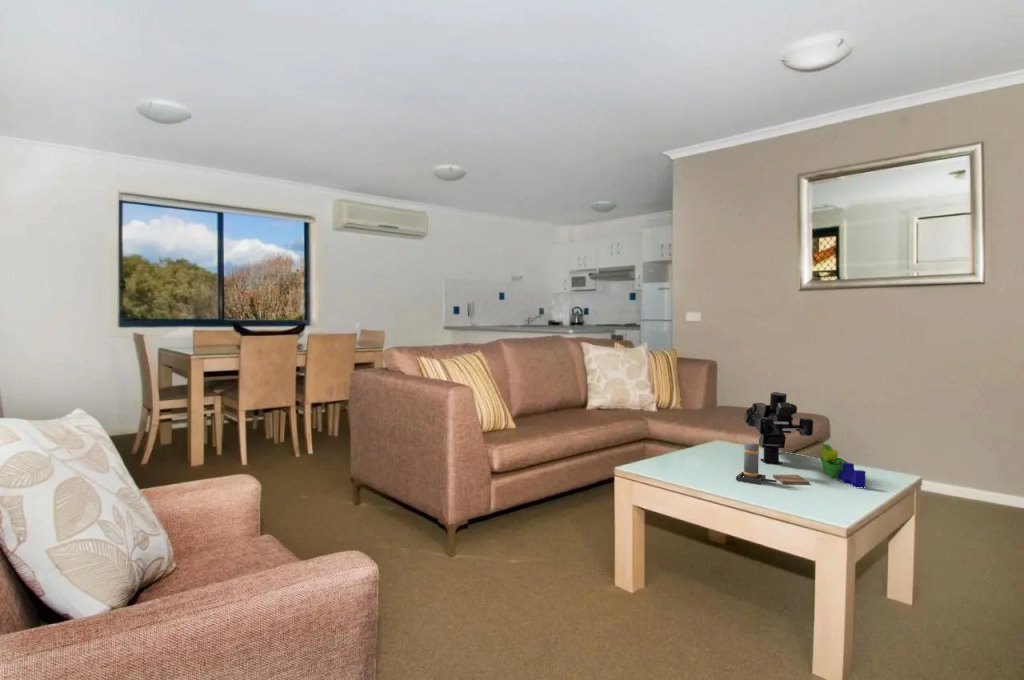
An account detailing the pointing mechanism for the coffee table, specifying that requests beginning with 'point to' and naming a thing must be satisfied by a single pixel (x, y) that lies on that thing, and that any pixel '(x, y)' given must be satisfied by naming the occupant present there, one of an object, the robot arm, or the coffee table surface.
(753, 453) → the orange-banded grey cylinder
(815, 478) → the coffee table surface
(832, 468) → the fruit basket
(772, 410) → the robot arm
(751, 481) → the collar
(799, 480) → the walnut pad
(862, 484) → the cable clip
